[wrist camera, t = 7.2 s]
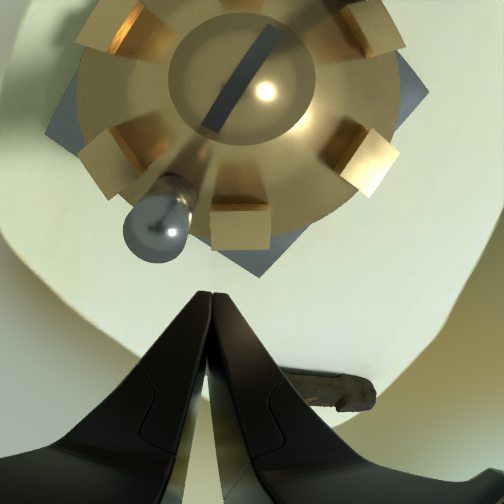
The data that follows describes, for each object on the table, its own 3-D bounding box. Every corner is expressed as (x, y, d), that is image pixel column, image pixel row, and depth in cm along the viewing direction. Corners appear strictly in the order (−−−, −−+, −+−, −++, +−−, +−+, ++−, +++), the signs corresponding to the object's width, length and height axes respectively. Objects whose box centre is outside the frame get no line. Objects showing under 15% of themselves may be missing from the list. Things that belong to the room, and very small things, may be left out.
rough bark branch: (218, 375, 28) (218, 412, 24) (230, 353, 26) (232, 393, 22) (357, 391, 33) (367, 419, 29) (375, 373, 31) (387, 402, 27)
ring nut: (193, -63, 8) (180, -125, 2) (413, 65, 13) (492, 65, 7) (64, 151, 14) (-8, 186, 8) (282, 258, 19) (306, 334, 13)
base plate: (220, -67, 9) (220, -79, 7) (417, 91, 15) (430, 92, 14) (56, 130, 15) (43, 134, 13) (257, 266, 21) (259, 279, 20)
